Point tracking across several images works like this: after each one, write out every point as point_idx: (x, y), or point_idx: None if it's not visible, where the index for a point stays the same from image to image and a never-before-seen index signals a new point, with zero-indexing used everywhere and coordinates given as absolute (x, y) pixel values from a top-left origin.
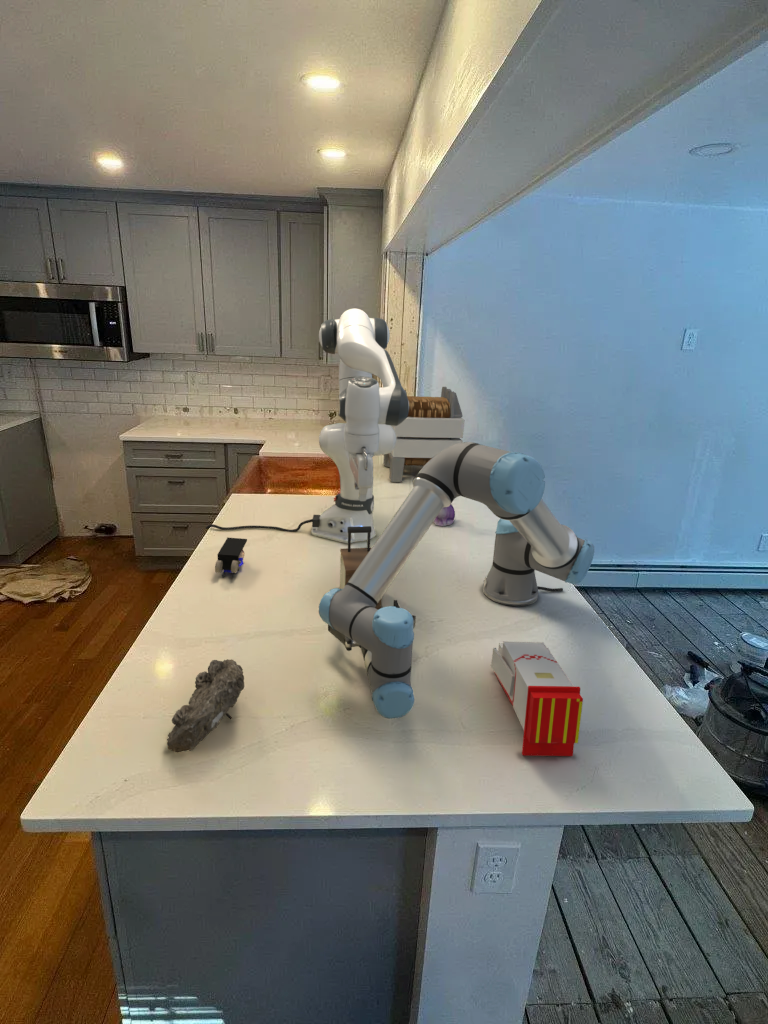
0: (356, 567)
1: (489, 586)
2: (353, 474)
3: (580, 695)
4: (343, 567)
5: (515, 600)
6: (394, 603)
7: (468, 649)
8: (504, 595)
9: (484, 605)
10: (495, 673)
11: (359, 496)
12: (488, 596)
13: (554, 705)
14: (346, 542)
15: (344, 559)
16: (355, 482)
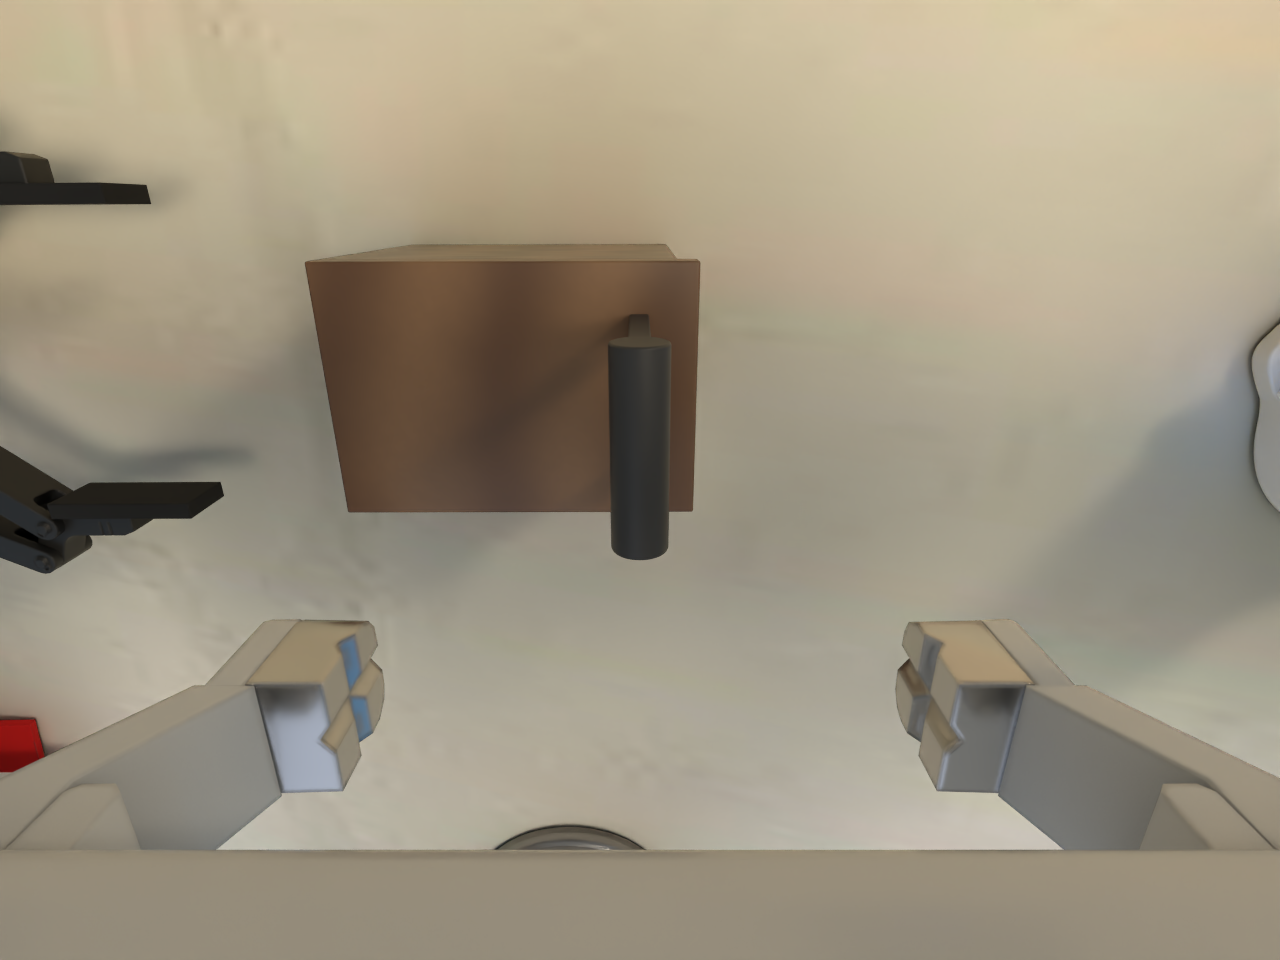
0: (361, 346)
1: None
2: (743, 891)
3: None
4: (452, 258)
5: None
6: (172, 500)
7: (170, 681)
8: None
9: (486, 803)
10: (19, 721)
11: (229, 660)
12: (536, 835)
13: None
14: (1263, 345)
15: (492, 273)
16: (1023, 698)
